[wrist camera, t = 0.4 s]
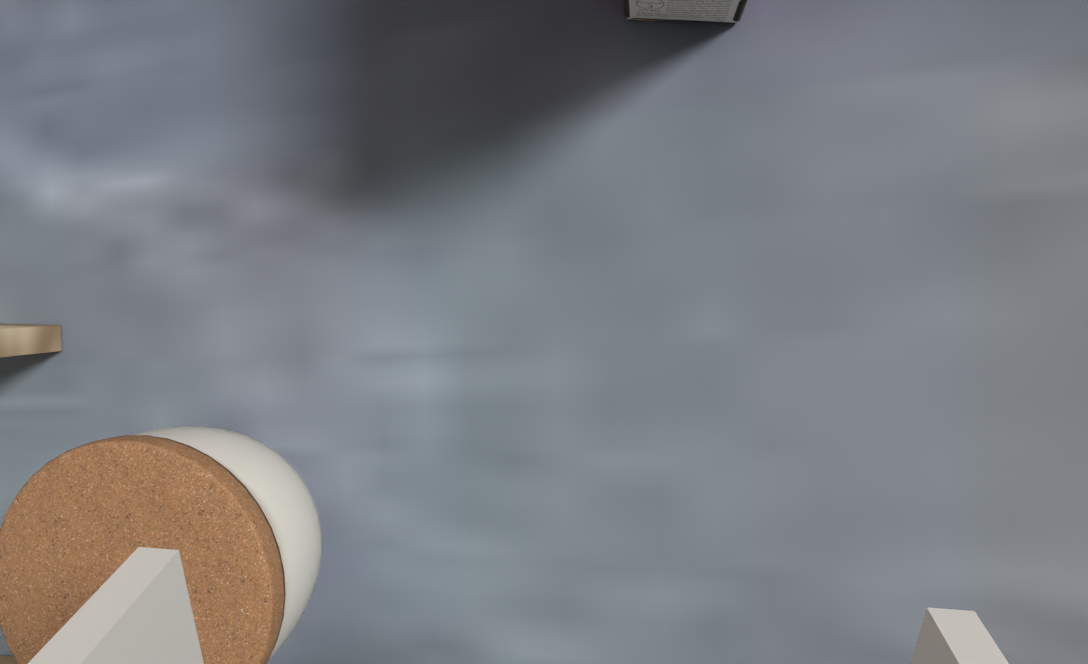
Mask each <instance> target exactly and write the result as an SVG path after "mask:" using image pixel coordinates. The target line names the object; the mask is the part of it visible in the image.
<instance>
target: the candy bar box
mask: <svg viewBox="0 0 1088 664" xmlns="http://www.w3.org/2000/svg"><path fill="white" fill-rule="evenodd" d="M746 2H747V0H624V11H625V18H626V19H628V20H646V21H660V20H686V21H704V22H730V23H736V22H739V21H740V18H741V16H742V13H743V10H744V8H745V5H746Z"/></svg>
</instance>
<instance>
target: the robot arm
mask: <svg viewBox="0 0 1088 664" xmlns="http://www.w3.org/2000/svg"><path fill="white" fill-rule="evenodd" d="M28 664H204V662H203V658H202V653H201V648H200V644H199V639H198V635H197V630H196V626H195V621H194V617H193V612H192V608H191V603H190V599H189V594H188V589H187V585H186V580H185V576H184V571H183V567H182V562H181V558H180V553H179V550H172V549H159V548H146V547H138V548H137V549H136V550H135V551H134V552H133V553H132V554H131V555H130V557H129V558H128V559H127V560H126V561H125V562H124V563H123V564H122V565H121V566H120V567H119V568H118V569H117V570H116V571H115V572H114V573H113V574H112V575H111V576H110V578H109V579H108V580H107V581H106V582H105V583H104V584H103V585H102V586H101V587H100V588H99V589H98V590H97V591H96V592H95V593H94V594H93V595H92V596H91V598H90V599H89V600H88V601H87V602H86V603H85V604H84V605H83V606H82V607H81V608H80V609H79V610H78V611H77V612H76V613H75V614H74V615H73V616H72V618H71V619H70V620H69V621H68V622H67V623H66V624H65V625H64V626H63V627H62V628H61V629H60V630H59V631H58V632H57V633H56V634H55V635H54V636H53V638H52V639H51V640H50V641H49V642H48V643H47V644H46V645H45V646H44V647H43V648H42V649H41V650H40V651H39V652H38V653H37V654H36V655H35V656H34V657H33V659H32V660H31V661H30V662H29V663H28ZM910 664H1009V663H1008V662H1007V660H1006V659H1005V657H1004V656H1003V654H1002V653H1001V651H1000V650H999V648H998V647H997V645H996V643H995V642H994V640H993V639H992V637H991V636H990V634H989V633H988V631H987V630H986V628H985V627H984V625H983V624H982V622H981V621H980V619H979V618H978V616H977V615H976V613H975V611H965V610H952V609H939V608H927V609H926V612H925V616H924V619H923V623H922V626H921V629H920V633H919V636H918V640H917V643H916V646H915V650H914V653H913V657H912V660H911V663H910Z"/></svg>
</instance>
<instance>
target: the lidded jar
mask: <svg viewBox="0 0 1088 664" xmlns="http://www.w3.org/2000/svg"><path fill="white" fill-rule="evenodd" d="M138 547H146V548H159V549H172V550H179V553H180V558H181V562H182V567H183V571H184V576H185V580H186V585H187V589H188V594H189V599H190V603H191V608H192V612H193V617H194V621H195V626H196V630H197V635H198V639H199V644H200V648H201V653H202V658H203V662H204V664H267V663H268V662H269V661H270V660H271V659H272V658H273V656H274V655H275V654H276V653H277V652H278V651H279V650H280V648H281V647H282V646H283V644H284V643H285V641H286V640H287V638H288V637H289V636H290V634H291V633H292V631H293V630H294V628H295V626H296V625H297V623H298V622H299V620H300V619H301V617H302V615H303V613H304V611H305V609H306V607H307V605H308V602H309V600H310V598H311V596H312V593H313V591H314V589H315V585H316V582H317V578H318V574H319V570H320V563H321V554H322V532H321V525H320V520H319V515H318V511H317V509H316V506H315V503H314V500H313V498H312V495H311V494H310V492H309V490H308V488H307V486H306V484H305V483H304V481H303V480H302V478H301V477H300V476H299V474H298V473H297V472H296V470H295V469H294V468H293V467H292V466H291V465H290V464H289V463H288V462H287V461H286V460H285V459H284V458H283V457H282V456H281V455H280V454H278V453H277V452H276V451H274V450H273V449H272V448H270V447H269V446H267V445H265V444H263V443H261V442H259V441H258V440H256V439H254V438H251V437H248V436H245V435H242V434H239V433H236V432H233V431H230V430H226V429H219V428H213V427H198V426H196V427H171V428H162V429H156V430H151V431H146V432H141V433H136V434H132V435H125V436H119V437H113V438H108V439H103V440H98V441H94V442H91V443H88V444H85V445H82V446H80V447H77V448H74V449H71V450H69V451H66V452H65V453H63V454H61V455H60V456H58V457H56V458H55V459H53V460H51V461H50V462H48V463H47V464H46V465H45V466H43V467H42V468H41V469H40V470H39V471H38V472H36V473H35V474H34V475H33V476H32V477H31V478H30V479H29V481H28V482H27V483H26V484H25V485H24V487H23V488H22V489H21V490H20V491H19V493H18V494H17V496H16V498H15V499H14V501H13V503H12V505H11V506H10V508H9V510H8V511H7V513H6V515H5V518H4V521H3V524H2V526H1V529H0V626H1V628H2V631H3V634H4V637H5V639H6V642H7V645H8V647H9V648H10V650H11V652H12V654H13V655H14V657H15V659H16V661H17V663H18V664H28V663H29V662H30V661H31V660H32V659H33V657H34V656H35V655H36V654H37V653H38V652H39V651H40V650H41V649H42V648H43V647H44V646H45V645H46V644H47V643H48V642H49V641H50V640H51V639H52V638H53V636H54V635H55V634H56V633H57V632H58V631H59V630H60V629H61V628H62V627H63V626H64V625H65V624H66V623H67V622H68V621H69V620H70V619H71V618H72V616H73V615H74V614H75V613H76V612H77V611H78V610H79V609H80V608H81V607H82V606H83V605H84V604H85V603H86V602H87V601H88V600H89V599H90V598H91V596H92V595H93V594H94V593H95V592H96V591H97V590H98V589H99V588H100V587H101V586H102V585H103V584H104V583H105V582H106V581H107V580H108V579H109V578H110V576H111V575H112V574H113V573H114V572H115V571H116V570H117V569H118V568H119V567H120V566H121V565H122V564H123V563H124V562H125V561H126V560H127V559H128V558H129V557H130V555H131V554H132V553H133V552H134V551H135V550H136V549H137V548H138Z"/></svg>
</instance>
